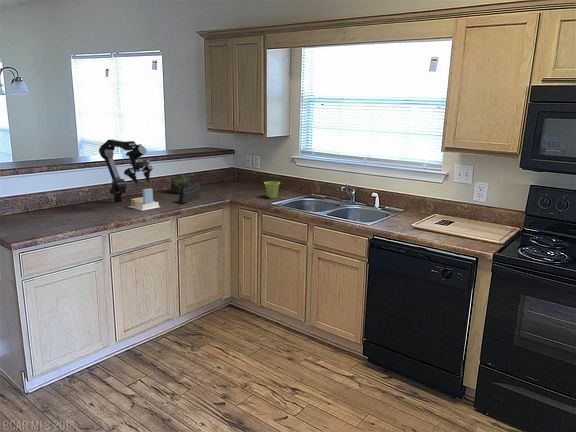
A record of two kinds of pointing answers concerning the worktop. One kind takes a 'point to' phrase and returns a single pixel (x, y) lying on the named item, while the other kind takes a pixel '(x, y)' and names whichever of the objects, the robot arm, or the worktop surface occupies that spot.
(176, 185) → the squash
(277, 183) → the plant pot
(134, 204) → the offcut stack
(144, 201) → the blue rectangular block
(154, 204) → the rack
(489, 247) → the worktop surface
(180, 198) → the magazine
